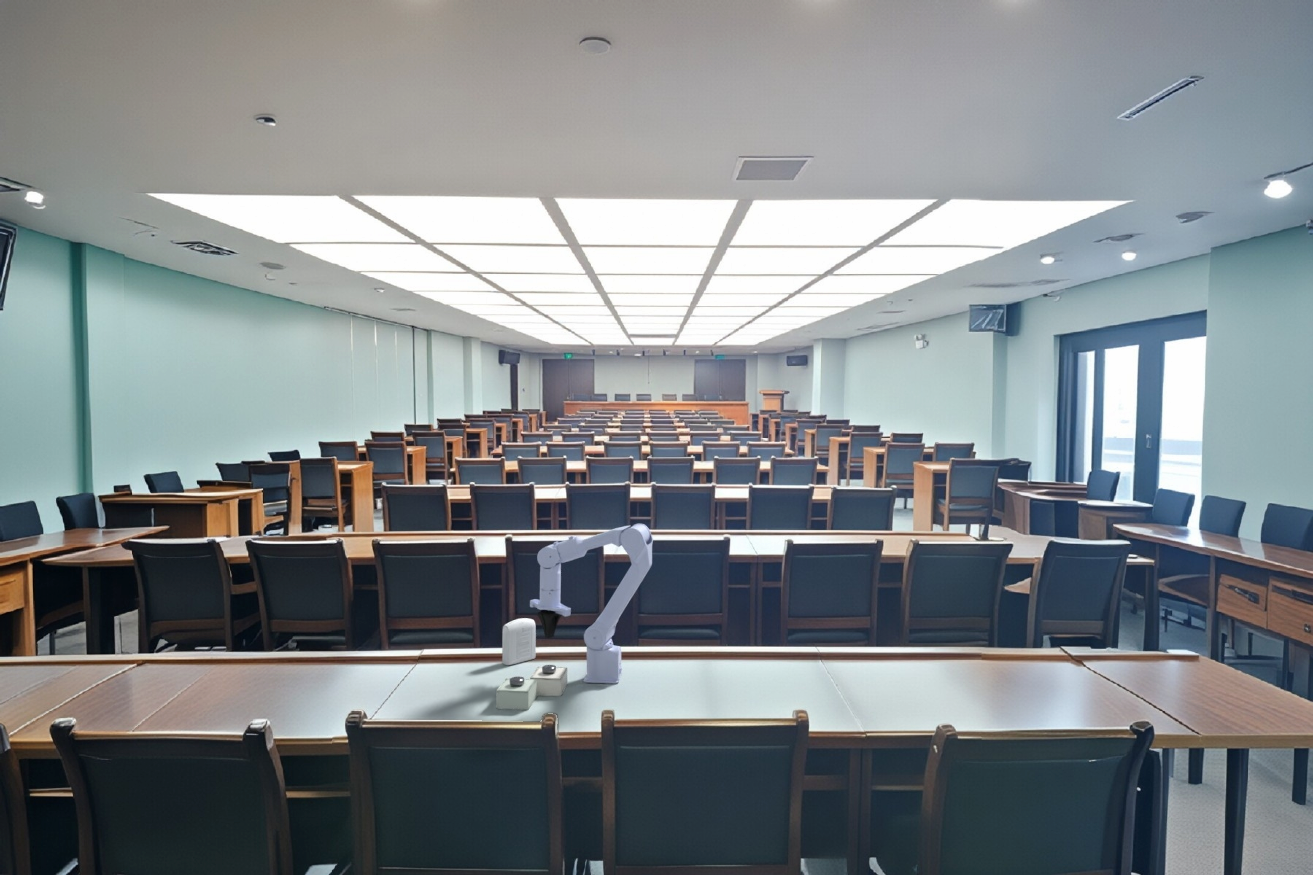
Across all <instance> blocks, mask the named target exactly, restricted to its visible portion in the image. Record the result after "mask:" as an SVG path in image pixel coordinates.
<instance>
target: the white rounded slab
mask: <svg viewBox="0 0 1313 875" xmlns="http://www.w3.org/2000/svg"><path fill="white" fill-rule="evenodd" d="M536 628H537V627H536V621H535V620H534V619H532V618H526V617H524V618H523V617H521V618H516V619H514V620H511V621H509V622H507V623H505V624H504V625H503V626H502V633H501V634H502V644H501V645H502V649H501V652H502V653H501V654H502V658H501V659H502V664H503V665H505V666H512V665H515V664H519V663H523V662H526V661H531V660H534V659H535V658H536V654H537V653H536V652H537V650H536V646H537V645H536V644H537V643H536V642H537V640H536V639H537V638H536V637H537V635H536V634H537V633H536V632H537V630H536Z"/></svg>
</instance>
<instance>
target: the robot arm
mask: <svg viewBox="0 0 1313 875" xmlns="http://www.w3.org/2000/svg"><path fill="white" fill-rule="evenodd" d="M653 542H654V538H653V536H652V532H651V530H650V529H649V527H648V526H647V525H646V524H644V523H635V524H633V525H632V526H631V524H630V525H624V526H621V527H620V526H619V527H616V528H613V529H611V530H607V531H605V532H601V533H598V534H595V535H592V536H591V537H588V538H587V537H586V538H583V537H581V536H575V535H571V536H568V539H565V540H563V541H554V542H553V543H552V544H549V545H546V546H544V547H542V548H541V549H540V550H539V551H538V553H537V556H536V558H537V563H538V564H539V566H540V567H539V570H540V571H539V599H537V598H534V599H530V600H529V607H530V608H537V610H540V611H538V612H537V617H538V619H539V620H540V623H541V625H542V630H543V633H544V634H543V635H544V637H545V638H546V639H551V638H553V637H554V636H555V632H556V629H557V626H558V624H559V620H560V619H561V617H562V616H563V617H566V618H567V617H569V616H571V612H572V610H571V609H572V608H571V607H569V606H566V605H564V604H563V603H561V589H562V588H561V585H562V584H561V583H562V582H561V581H562V576H561V575H562V574H561V573H562V572H561V571H562V570H561V569H562V564H563V563H566V562H567V563H568V562H571V561H574V560H577V559H579V558H583V557H585V555H586V554H587V552H588V551H589V550H593V549H597V548H600V547H603V546H607V545H608V546H609V545H611V544H612V545H614V546H616V547H622V549H623V550H624V551H625V553H626V554H627V555H628V557H629V560H630V563H631V565H630V567H629V568H628V570H627V571H626V573H625V575H624V576H623V578H622V580H621V581H620V583H619V585H618V586H617V588H616V589H615V591H614V592H613V594H612V596H611V598H610V599H609V601H608V603H607V604H606V606H604V609H603V611H601V613H600V615H599V616H598V617H597V619H596V620H595V622H593V624H592V625H590V626H589V627H588V628H587V629H585V630H584V633H583V641H584V644H586V674H585V676H584V678H583V681H582V682H583V683H588V684H589V683H590V684H591V683H594V684H595V683H596V684H618V683H619V681H620V678H621V676H622V670H623V669H622V647H621V646H619V645H614V642H613V639H612V638H613V636H614V635H615V632H616V626H617V623H618V622H619V619H620V617H621V615H622V614H623V612H624V611H625V609H626V607H627V606H628V604H629V602H630V601H631V599H632V598H633V596H634V594H635V593H636V592H637V590H638V588H639V587H640V585H641V583H642V582H643V581H644V579H645V577H646V575H647V574H648V572H649V571H650V569H651V567H652V565H653Z"/></svg>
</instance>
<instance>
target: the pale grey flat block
mask: <svg viewBox="0 0 1313 875" xmlns="http://www.w3.org/2000/svg"><path fill="white" fill-rule="evenodd" d="M495 691H496V700H495V701H496V709H497V710H523V711H524V710H525V711H526V710H528V711H529V709H530V708H531V707H532V705H533V703H534V702H535V701H536V699H537V698H538V695H537V679H530V678H524V684H522V685H519V687H515V686H512V685H510V678H505V679H504V681H502V683H501V684H500V686H499V687H498V688H497V689H496V690H495Z"/></svg>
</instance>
